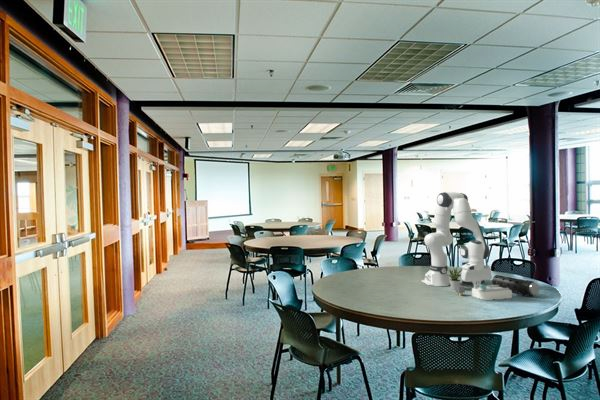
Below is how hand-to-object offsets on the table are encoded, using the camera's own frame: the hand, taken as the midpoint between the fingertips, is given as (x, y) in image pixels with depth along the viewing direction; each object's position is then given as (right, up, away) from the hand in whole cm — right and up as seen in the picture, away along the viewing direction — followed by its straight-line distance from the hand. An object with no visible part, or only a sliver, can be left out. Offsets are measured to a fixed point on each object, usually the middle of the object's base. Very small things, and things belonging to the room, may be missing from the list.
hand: (476, 287), depth 247 cm
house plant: (-3, -7, +25) cm, 26 cm away
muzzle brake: (+31, -7, +12) cm, 34 cm away
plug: (-7, -7, +8) cm, 13 cm away
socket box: (+11, -7, +3) cm, 13 cm away
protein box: (+19, -7, +46) cm, 50 cm away
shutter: (+7, -2, +2) cm, 7 cm away
